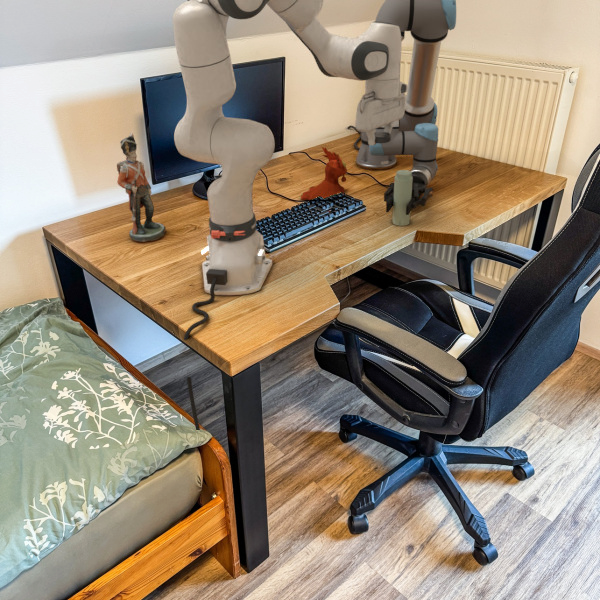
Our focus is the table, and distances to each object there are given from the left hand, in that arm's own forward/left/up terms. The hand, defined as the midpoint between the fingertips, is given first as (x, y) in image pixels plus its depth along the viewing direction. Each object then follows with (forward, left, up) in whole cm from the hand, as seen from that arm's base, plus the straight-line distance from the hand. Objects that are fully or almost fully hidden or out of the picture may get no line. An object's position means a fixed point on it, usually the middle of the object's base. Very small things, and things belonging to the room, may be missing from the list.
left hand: (379, 141), depth 156 cm
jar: (+2, -8, -25) cm, 26 cm away
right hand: (-3, -6, -19) cm, 20 cm away
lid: (0, 0, +2) cm, 2 cm away
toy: (+26, +15, -25) cm, 39 cm away
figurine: (-2, +69, -25) cm, 73 cm away
